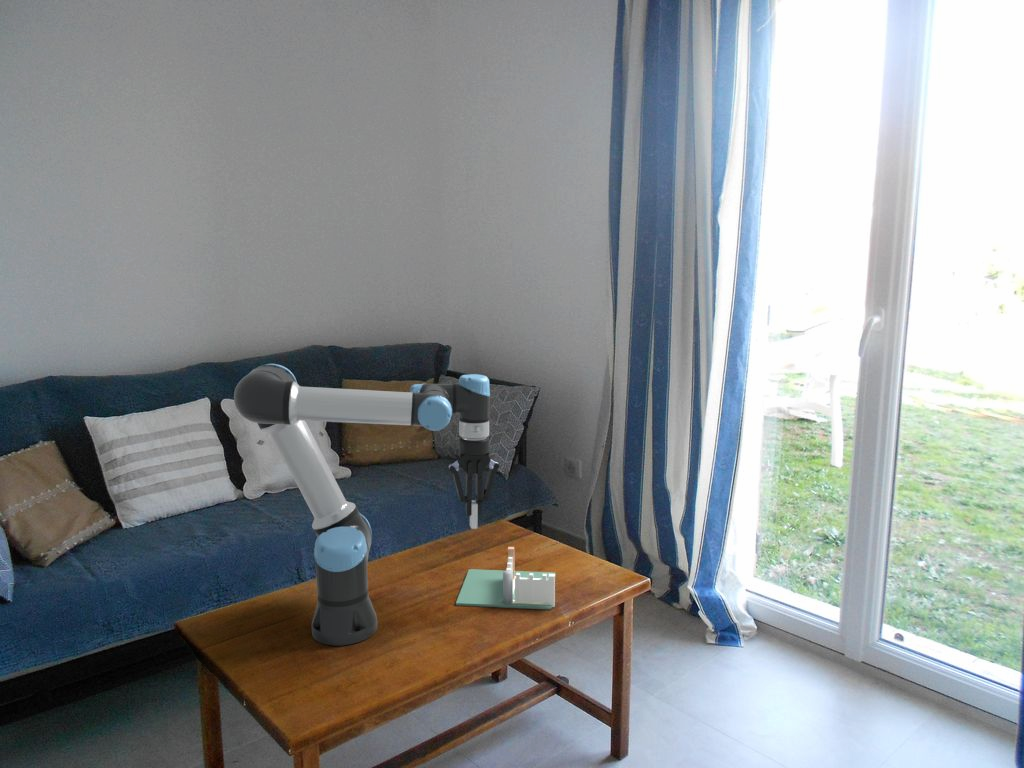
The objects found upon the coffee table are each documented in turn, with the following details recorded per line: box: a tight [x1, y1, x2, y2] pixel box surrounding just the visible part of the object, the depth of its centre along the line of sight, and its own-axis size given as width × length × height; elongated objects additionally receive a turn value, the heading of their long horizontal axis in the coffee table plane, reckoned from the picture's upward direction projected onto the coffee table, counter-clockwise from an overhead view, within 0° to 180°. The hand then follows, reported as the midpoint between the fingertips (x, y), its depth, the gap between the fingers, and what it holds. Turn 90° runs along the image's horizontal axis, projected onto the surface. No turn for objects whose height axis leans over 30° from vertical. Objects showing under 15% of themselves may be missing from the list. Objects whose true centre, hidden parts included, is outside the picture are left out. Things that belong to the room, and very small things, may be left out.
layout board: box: [455, 568, 557, 610], centre depth 196 cm, size 24×20×1 cm
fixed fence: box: [503, 570, 556, 608], centre depth 187 cm, size 13×2×8 cm, turn 84°
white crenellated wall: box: [506, 546, 516, 579], centre depth 195 cm, size 12×2×8 cm, turn 176°
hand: (473, 526), depth 190 cm, fingers closed
